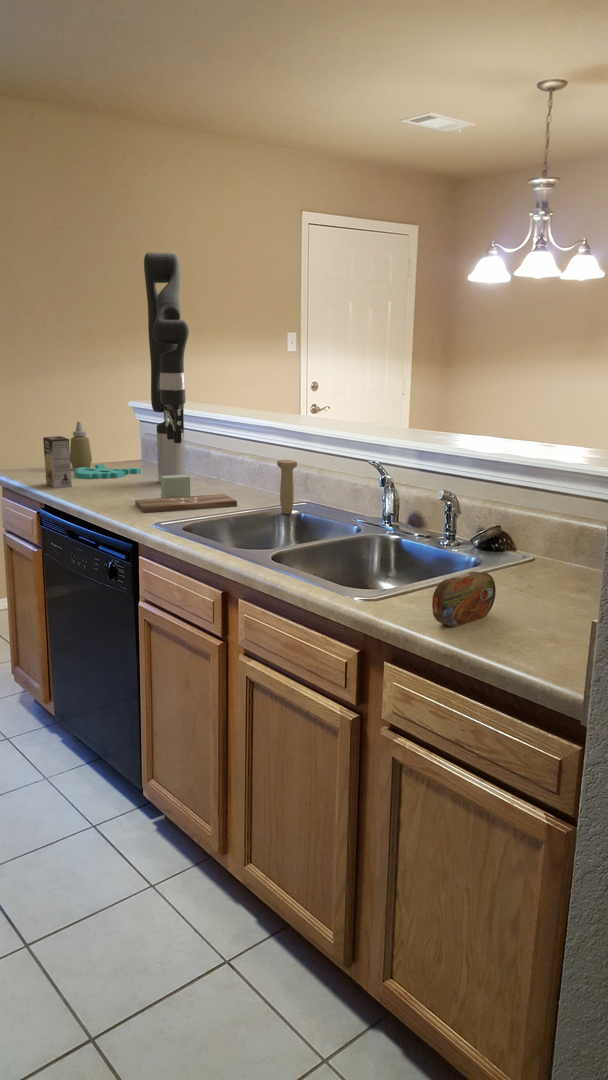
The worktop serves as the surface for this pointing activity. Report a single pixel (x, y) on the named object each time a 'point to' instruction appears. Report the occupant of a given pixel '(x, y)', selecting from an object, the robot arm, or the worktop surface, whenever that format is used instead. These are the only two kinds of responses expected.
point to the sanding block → (175, 486)
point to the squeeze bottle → (80, 449)
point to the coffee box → (57, 461)
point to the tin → (463, 598)
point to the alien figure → (103, 472)
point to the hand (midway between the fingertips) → (174, 441)
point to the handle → (286, 485)
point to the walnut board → (185, 503)
